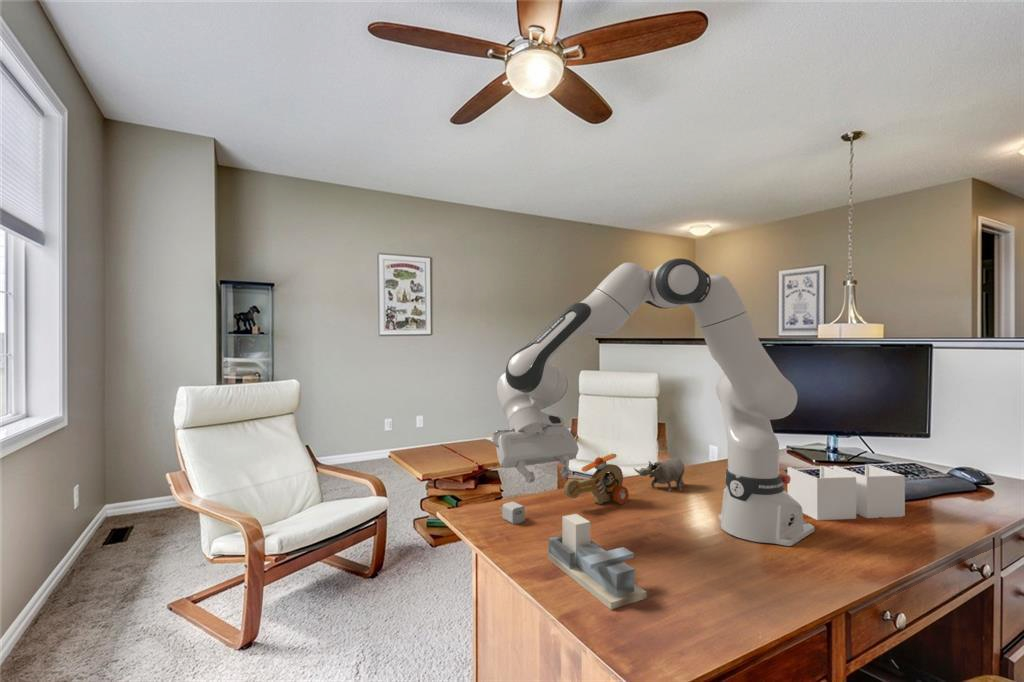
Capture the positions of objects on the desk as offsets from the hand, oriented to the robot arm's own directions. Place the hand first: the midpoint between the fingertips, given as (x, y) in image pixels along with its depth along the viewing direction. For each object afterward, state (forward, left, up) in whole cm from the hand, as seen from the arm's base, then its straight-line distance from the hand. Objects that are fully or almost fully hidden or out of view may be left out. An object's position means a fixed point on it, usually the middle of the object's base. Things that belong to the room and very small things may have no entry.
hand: (549, 478), depth 105 cm
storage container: (-83, +18, -15) cm, 86 cm away
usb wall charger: (+1, -18, -15) cm, 23 cm away
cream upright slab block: (0, +10, -14) cm, 17 cm away
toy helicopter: (-26, -17, -15) cm, 34 cm away
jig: (0, +16, -15) cm, 22 cm away
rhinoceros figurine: (-54, -19, -15) cm, 59 cm away
